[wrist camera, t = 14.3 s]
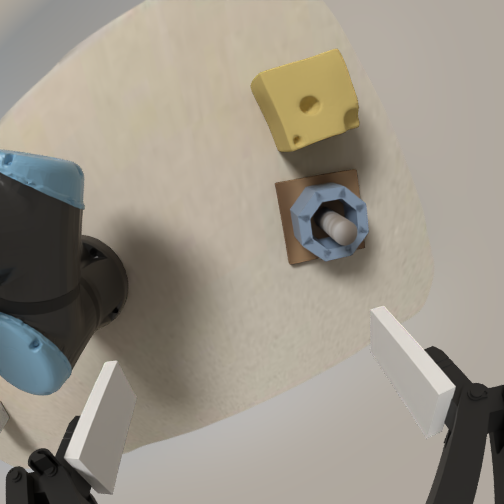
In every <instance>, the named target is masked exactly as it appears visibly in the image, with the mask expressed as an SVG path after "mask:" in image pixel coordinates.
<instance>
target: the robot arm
mask: <svg viewBox="0 0 504 504" xmlns="http://www.w3.org/2000/svg"><path fill="white" fill-rule="evenodd" d="M83 192H84V173H83V171H82V169H81V168H80V166H79V165H77V164H76V163H74V162H71V161H68V160H63V159H59V158H54V157H48V156H43V155H37V154H31V153H24V152H17V151H10V150H0V375H1V376H2V377H3V378H4V379H5V380H6V381H7V382H9V383H10V384H12V385H13V386H15V387H16V388H18V389H20V390H22V391H25V392H27V393H30V394H34V395H50V394H52V393H54V392H56V391H58V390H59V389H60V388H61V386H62V385H63V384H64V382H65V381H66V380H67V379H68V378H69V377H70V375H71V373H72V369H73V367H74V366H75V364H76V362H77V360H78V359H79V357H80V355H81V354H82V352H83V350H84V348H85V347H86V345H87V343H88V342H89V340H90V338H91V337H92V335H93V333H94V332H95V331H96V330H98V329H100V328H102V327H103V326H105V325H107V324H109V323H110V322H112V321H113V320H114V319H115V318H116V317H117V316H118V314H119V313H120V311H121V310H122V308H123V306H124V304H125V302H126V299H127V294H128V281H127V276H126V272H125V269H124V267H123V265H122V263H121V261H120V260H119V258H118V257H117V255H116V254H115V253H114V252H113V251H112V250H111V249H110V248H109V247H108V246H107V245H106V244H104V243H103V242H101V241H100V240H98V239H95V238H93V237H90V236H86V235H81V232H82V215H83V210H84V209H85V205H84V204H83ZM370 352H371V353H372V355H373V357H374V358H375V359H376V361H377V363H378V364H379V366H380V367H381V369H382V370H383V372H384V373H385V375H386V376H387V378H388V379H389V381H390V382H391V384H392V386H393V387H394V389H395V390H396V392H397V393H398V395H399V396H400V398H401V399H402V401H403V403H404V404H405V406H406V407H407V409H408V410H409V412H410V414H411V415H412V417H413V418H414V420H415V421H416V423H417V425H418V426H419V428H420V429H421V431H422V433H423V434H424V436H425V438H426V439H427V438H429V437H431V436H433V435H436V434H437V433H440V432H441V431H442V429H443V426H444V423H445V424H446V426H447V427H448V429H449V430H448V433H447V435H446V438H445V441H444V443H445V445H444V448H443V452H442V456H441V459H440V463H439V466H438V469H437V473H436V476H435V479H434V482H433V485H432V488H431V491H430V493H429V496H428V499H427V501H426V504H473V501H474V498H475V494H476V490H477V486H478V481H479V477H480V472H481V467H482V462H483V456H484V450H485V444H486V437H487V434H488V433H489V436H490V444H491V452H492V463H493V475H494V493H495V504H504V385H501V386H497V387H492V388H487V387H486V386H485V385H483V384H479V383H472V382H471V381H470V380H469V379H468V378H467V377H466V376H465V375H464V374H463V372H462V371H461V370H460V369H459V368H458V367H457V366H456V365H455V364H454V363H453V361H452V360H451V359H449V357H448V356H447V355H446V354H445V353H444V352H443V351H442V350H440V349H438V348H436V347H434V346H432V347H429V348H427V349H423V348H422V347H421V346H420V345H419V344H418V343H417V342H416V340H415V339H414V338H413V337H412V336H411V335H410V334H409V333H408V332H407V331H406V329H405V328H404V327H403V326H402V325H401V324H400V323H399V322H398V321H397V320H396V318H395V317H394V316H393V315H392V314H391V313H390V312H389V311H388V310H387V309H386V308H385V307H384V306H380V307H377V308H373V309H370ZM136 400H137V397H136V395H135V393H134V392H133V390H132V388H131V386H130V384H129V382H128V380H127V378H126V376H125V375H124V373H123V371H122V369H121V367H120V365H119V363H118V361H108V362H105V363H104V365H103V368H102V370H101V372H100V374H99V376H98V378H97V380H96V383H95V385H94V387H93V389H92V391H91V394H90V396H89V398H88V400H87V403H86V405H85V407H84V410H83V412H82V414H81V416H75V417H74V419H73V420H72V421H71V422H70V423H69V425H68V427H67V430H66V433H65V434H64V437H63V438H64V439H62V441H61V444H60V446H59V449H58V451H57V453H56V456H54V455H53V454H52V453H51V452H50V451H49V450H48V449H45V448H41V449H38V450H36V451H34V452H33V453H32V454H31V455H30V457H29V459H28V466H29V467H30V468H31V469H32V470H33V471H34V472H31V473H28V472H27V471H26V470H25V469H24V468H23V467H20V466H18V467H14V468H12V469H11V470H10V471H9V472H8V474H7V476H6V504H97V502H96V500H95V498H94V497H93V495H92V494H91V493H90V490H91V487H92V488H93V489H94V490H95V491H96V492H98V493H101V494H113V490H114V486H115V482H116V477H117V473H118V469H119V465H120V461H121V456H122V453H123V449H124V445H125V441H126V437H127V433H128V429H129V425H130V422H131V418H132V414H133V411H134V407H135V404H136Z"/></svg>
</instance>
